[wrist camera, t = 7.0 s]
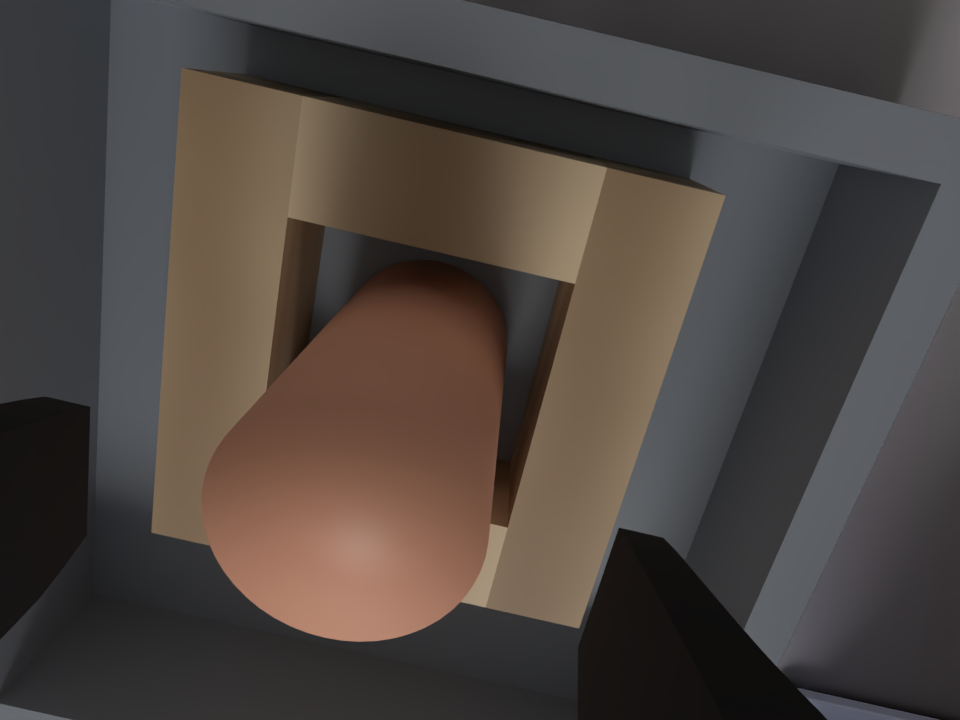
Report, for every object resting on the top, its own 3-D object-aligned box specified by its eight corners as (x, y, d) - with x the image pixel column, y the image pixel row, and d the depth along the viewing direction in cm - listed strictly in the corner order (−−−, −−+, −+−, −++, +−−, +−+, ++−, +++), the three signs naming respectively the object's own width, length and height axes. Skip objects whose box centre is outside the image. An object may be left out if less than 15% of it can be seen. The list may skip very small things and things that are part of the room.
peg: (524, 281, 17) (520, 430, 9) (487, 430, 18) (455, 667, 10) (357, 242, 16) (213, 360, 9) (333, 395, 18) (191, 607, 10)
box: (892, 126, 15) (1029, 135, 11) (646, 729, 22) (675, 882, 17) (79, -67, 15) (-95, -134, 11) (68, 601, 21) (-45, 724, 17)
